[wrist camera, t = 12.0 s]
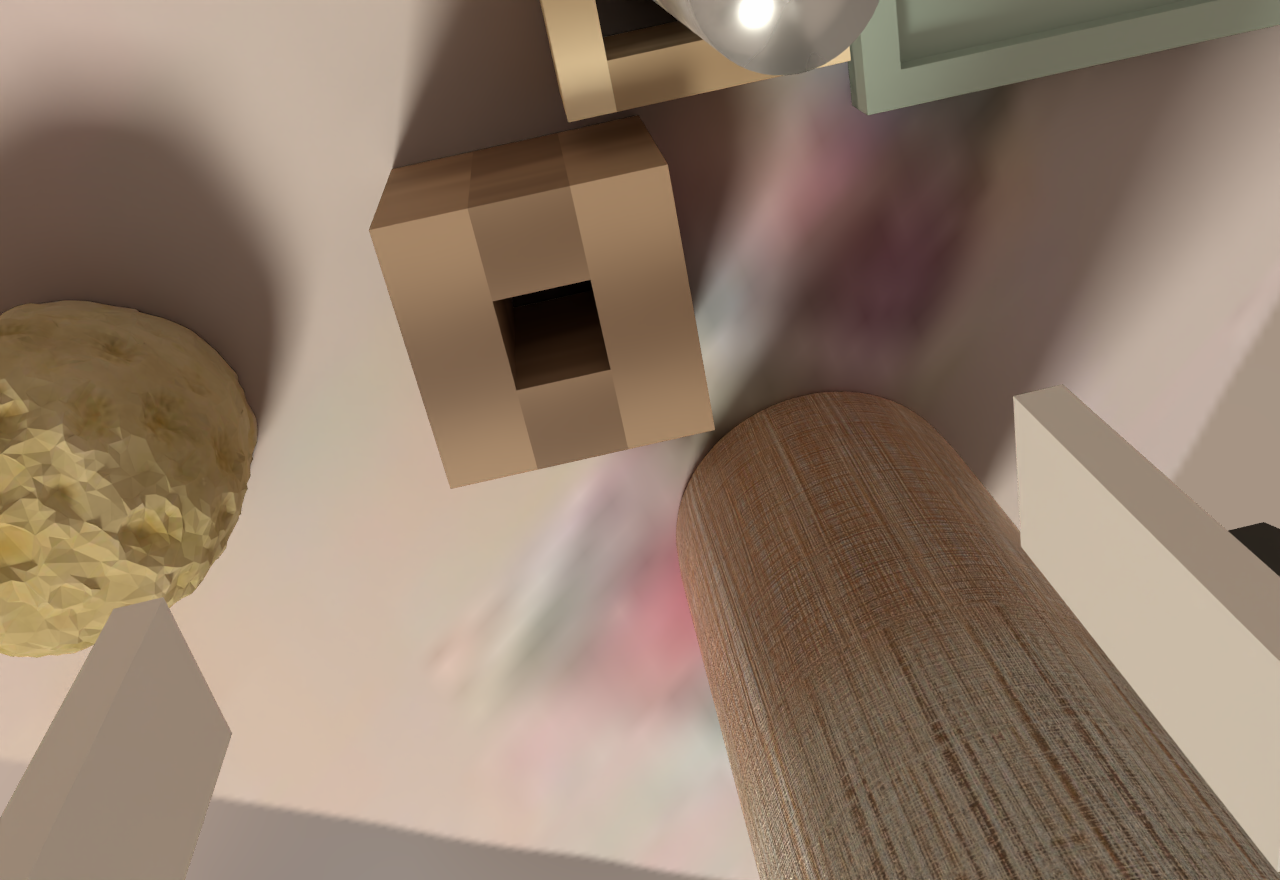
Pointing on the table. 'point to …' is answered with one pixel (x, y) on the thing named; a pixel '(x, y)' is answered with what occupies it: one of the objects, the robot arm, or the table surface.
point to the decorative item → (110, 467)
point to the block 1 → (633, 62)
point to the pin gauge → (775, 30)
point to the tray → (1022, 41)
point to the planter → (918, 672)
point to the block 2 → (548, 330)
